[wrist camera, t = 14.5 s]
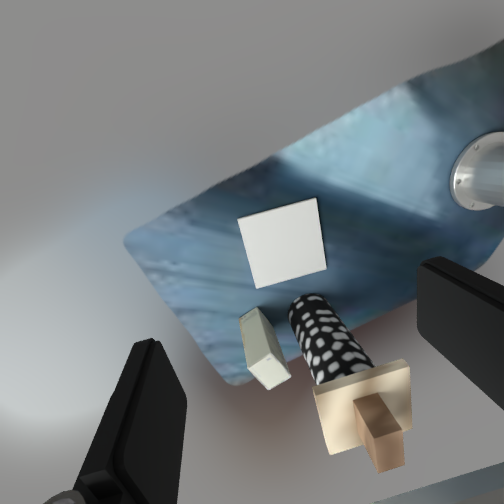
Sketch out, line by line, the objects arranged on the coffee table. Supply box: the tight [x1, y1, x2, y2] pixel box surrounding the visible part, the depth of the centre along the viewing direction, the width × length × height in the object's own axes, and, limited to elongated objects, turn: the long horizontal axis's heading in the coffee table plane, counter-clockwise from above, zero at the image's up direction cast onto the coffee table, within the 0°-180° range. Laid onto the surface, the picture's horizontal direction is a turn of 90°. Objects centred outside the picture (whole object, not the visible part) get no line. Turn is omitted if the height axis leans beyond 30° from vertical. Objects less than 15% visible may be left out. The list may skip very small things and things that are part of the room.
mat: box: [238, 198, 326, 289], centre depth 45 cm, size 13×13×1 cm
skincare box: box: [239, 307, 291, 390], centre depth 45 cm, size 6×4×12 cm
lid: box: [312, 359, 412, 473], centre depth 30 cm, size 11×11×6 cm
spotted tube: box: [288, 294, 376, 385], centre depth 42 cm, size 8×8×20 cm
